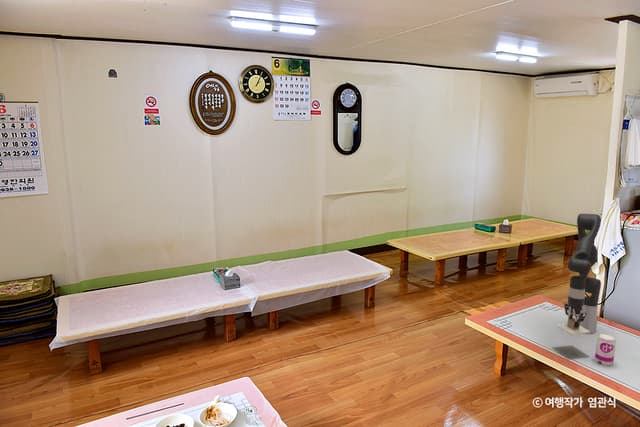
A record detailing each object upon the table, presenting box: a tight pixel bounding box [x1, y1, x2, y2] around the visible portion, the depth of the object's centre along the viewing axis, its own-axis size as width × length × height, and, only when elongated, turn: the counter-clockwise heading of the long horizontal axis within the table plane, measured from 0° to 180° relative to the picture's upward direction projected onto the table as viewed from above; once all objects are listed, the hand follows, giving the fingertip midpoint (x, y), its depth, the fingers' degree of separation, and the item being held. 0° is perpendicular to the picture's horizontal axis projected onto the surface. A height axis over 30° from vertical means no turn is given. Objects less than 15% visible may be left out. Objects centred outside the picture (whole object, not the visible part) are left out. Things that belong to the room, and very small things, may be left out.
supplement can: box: [594, 333, 617, 367], centre depth 231 cm, size 8×8×15 cm
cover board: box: [556, 317, 590, 336], centre depth 239 cm, size 11×11×5 cm
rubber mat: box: [551, 345, 590, 360], centre depth 242 cm, size 13×13×1 cm
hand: (573, 325), depth 239 cm, fingers closed on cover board, 4 cm apart
